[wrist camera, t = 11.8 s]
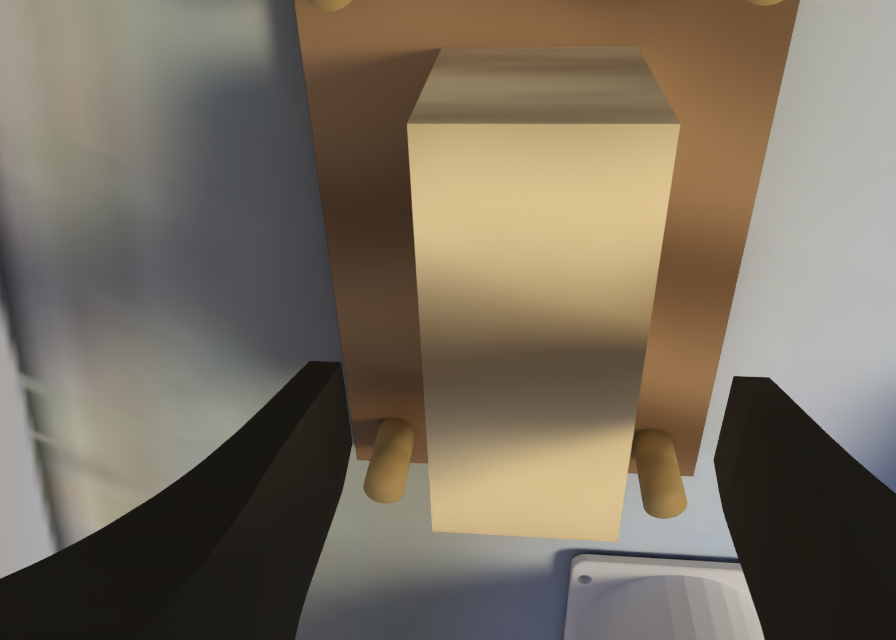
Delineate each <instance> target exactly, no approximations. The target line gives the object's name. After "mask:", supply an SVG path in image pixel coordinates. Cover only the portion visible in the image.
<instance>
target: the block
mask: <svg viewBox="0 0 896 640" xmlns="http://www.w3.org/2000/svg"><path fill="white" fill-rule="evenodd" d="M679 130H680V122H679V120H678V119H677V117H676V115H675V113H674V111H673V110H672V108H671V106H670V104H669V102H668V101H667V99H666V97H665V95H664V93H663V92H662V90H661V88H660V86H659V84H658V83H657V81H656V79H655V77H654V75H653V74H652V72H651V70H650V68H649V66H648V65H647V63H646V61H645V59H644V58H643V56H642V54H641V52H640V50H639V49H638V47H637V46H588V47H487V48H441V50H440V53H439V55H438V57H437V59H436V61H435V64H434V66H433V68H432V70H431V72H430V75H429V77H428V79H427V81H426V83H425V85H424V88H423V90H422V92H421V94H420V96H419V99H418V101H417V103H416V105H415V107H414V109H413V112H412V114H411V116H410V118H409V120H408V123H407V133H408V148H409V164H410V180H411V196H412V212H413V228H414V244H415V260H416V276H417V292H418V307H419V323H420V339H421V355H422V371H423V387H424V403H425V419H426V435H427V451H428V467H429V482H430V498H431V514H432V530H433V531H438V532H455V533H473V534H490V535H507V536H525V537H542V538H560V539H577V540H595V541H612V542H617V540H618V534H619V527H620V521H621V514H622V507H623V501H624V494H625V487H626V481H627V474H628V468H629V461H630V454H631V448H632V441H633V435H634V428H635V421H636V415H637V408H638V401H639V395H640V388H641V382H642V375H643V368H644V362H645V355H646V348H647V342H648V335H649V329H650V322H651V315H652V309H653V302H654V296H655V289H656V282H657V276H658V269H659V262H660V256H661V249H662V243H663V236H664V229H665V223H666V216H667V209H668V203H669V196H670V190H671V183H672V176H673V170H674V163H675V157H676V150H677V143H678V137H679Z"/></svg>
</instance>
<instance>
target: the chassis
mask: <svg viewBox="0 0 896 640" xmlns="http://www.w3.org/2000/svg"><path fill="white" fill-rule="evenodd" d="M799 1H800V0H294V3H295V11H296V18H297V25H298V32H299V40H300V47H301V54H302V62H303V69H304V76H305V84H306V91H307V98H308V105H309V113H310V120H311V127H312V135H313V142H314V149H315V157H316V164H317V171H318V178H319V186H320V193H321V200H322V208H323V215H324V222H325V229H326V237H327V244H328V251H329V259H330V266H331V273H332V281H333V288H334V295H335V302H336V310H337V317H338V324H339V332H340V339H341V346H342V354H343V361H344V368H345V375H346V383H347V390H348V397H349V405H350V412H351V419H352V427H353V434H354V441H355V448H356V456H357V460H368V461H370V463H369V467H368V470H367V474H366V478H365V482H364V486H363V487H364V491H365V493H366V495H367V496H368V497H369V498H371V499H372V500H374V501H376V502H379V503H394V502H396V501H398V500H400V499H401V498H402V496H403V493H404V488H405V483H406V478H407V473H408V468H409V463H428V451H427V435H426V419H425V403H424V387H423V371H422V355H421V339H420V323H419V307H418V292H417V276H416V260H415V244H414V228H413V212H412V196H411V180H410V164H409V148H408V133H407V123H408V120H409V118H410V116H411V114H412V112H413V109H414V107H415V105H416V103H417V101H418V99H419V96H420V94H421V92H422V90H423V88H424V85H425V83H426V81H427V79H428V77H429V75H430V72H431V70H432V68H433V66H434V64H435V61H436V59H437V57H438V55H439V53H440V50H441V48H487V47H588V46H637V47H638V49H639V50H640V52H641V54H642V56H643V58H644V59H645V61H646V63H647V65H648V66H649V68H650V70H651V72H652V74H653V75H654V77H655V79H656V81H657V83H658V84H659V86H660V88H661V90H662V92H663V93H664V95H665V97H666V99H667V101H668V102H669V104H670V106H671V108H672V110H673V111H674V113H675V115H676V117H677V119H678V120H679V122H680V130H679V137H678V143H677V150H676V157H675V163H674V170H673V176H672V183H671V190H670V196H669V203H668V209H667V216H666V223H665V229H664V236H663V243H662V249H661V256H660V262H659V269H658V276H657V282H656V289H655V296H654V302H653V309H652V315H651V322H650V329H649V335H648V342H647V348H646V355H645V362H644V368H643V375H642V382H641V388H640V395H639V401H638V408H637V415H636V421H635V428H634V435H633V441H632V448H631V454H630V461H629V468H628V473H636V474H638V478H639V483H640V489H641V495H642V501H643V507H644V509H645V511H646V512H647V513H648V514H649V515H651V516H653V517H656V518H662V519H666V518H672V517H675V516H678V515H679V514H681V513H682V512H683V511H684V510H685V508H686V506H687V500H686V495H685V491H684V487H683V483H682V479H681V476H693V475H694V470H695V466H696V461H697V457H698V453H699V448H700V444H701V439H702V435H703V430H704V426H705V421H706V417H707V412H708V408H709V403H710V399H711V394H712V390H713V386H714V381H715V377H716V372H717V368H718V363H719V359H720V354H721V350H722V345H723V341H724V336H725V332H726V327H727V323H728V318H729V314H730V310H731V305H732V301H733V296H734V292H735V287H736V283H737V278H738V274H739V269H740V265H741V260H742V256H743V251H744V247H745V242H746V238H747V234H748V229H749V225H750V220H751V216H752V211H753V207H754V202H755V198H756V193H757V189H758V184H759V180H760V175H761V171H762V167H763V162H764V158H765V153H766V149H767V144H768V140H769V135H770V131H771V126H772V122H773V117H774V113H775V108H776V104H777V99H778V95H779V91H780V86H781V82H782V77H783V73H784V68H785V64H786V59H787V55H788V50H789V46H790V41H791V37H792V32H793V28H794V23H795V19H796V15H797V10H798V6H799Z"/></svg>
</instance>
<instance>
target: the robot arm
mask: <svg viewBox="0 0 896 640" xmlns="http://www.w3.org/2000/svg"><path fill="white" fill-rule="evenodd" d="M351 447H352V437H351V430H350V423H349V415H348V408H347V401H346V394H345V386H344V379H343V372H342V365H341V362H321V361H310V362H309V363H307V364H306V365H305V366H304V367H303V368H302V369H301V370H300V371H299V372H298V373H297V374H296V375H295V376H294V377H293V378H292V379H291V380H290V381H289V382H288V383H287V384H286V385H285V386H284V387H283V388H282V389H281V390H280V391H279V392H278V393H277V394H276V395H275V396H274V397H273V398H272V399H271V400H270V401H269V402H268V403H267V404H266V405H265V406H264V407H263V408H262V409H261V410H260V411H258V412H257V413H256V414H255V415H254V416H253V417H252V418H251V419H250V420H249V421H248V422H247V423H246V424H245V425H244V426H243V427H242V428H241V429H239V430H238V431H237V432H236V433H235V434H234V435H233V436H232V437H230V438H229V439H228V440H227V441H226V442H225V443H223V444H222V445H221V446H220V447H219V448H218V449H216V450H215V451H214V452H213V453H212V454H211V455H209V456H208V457H207V458H206V459H205V460H203V461H202V462H201V463H200V464H198V465H197V466H196V467H194V468H193V469H192V470H191V471H189V472H188V473H187V474H185V475H184V476H182V477H181V478H180V479H178V480H177V481H175V482H174V483H173V484H171V485H170V486H168V487H167V488H166V489H164V490H163V491H161V492H160V493H158V494H157V495H155V496H154V497H153V498H151V499H149V500H148V501H146V502H144V503H143V504H141V505H140V506H138V507H136V508H135V509H133V510H132V511H130V512H128V513H127V514H125V515H124V516H122V517H120V518H119V519H117V520H115V521H114V522H112V523H111V524H109V525H107V526H106V527H104V528H102V529H100V530H98V531H97V532H95V533H93V534H91V535H89V536H88V537H86V538H84V539H82V540H80V541H78V542H77V543H75V544H73V545H71V546H69V547H67V548H65V549H63V550H61V551H59V552H57V553H55V554H53V555H51V556H49V557H47V558H45V559H43V560H41V561H39V562H37V563H35V564H32V565H30V566H28V567H26V568H24V569H21V570H19V571H17V572H15V573H12V574H10V575H8V576H5V577H4V578H1V579H0V640H295V636H296V632H297V628H298V623H299V619H300V615H301V612H302V608H303V605H304V602H305V598H306V595H307V592H308V589H309V586H310V583H311V580H312V577H313V574H314V572H315V569H316V566H317V563H318V560H319V557H320V554H321V552H322V549H323V546H324V543H325V540H326V537H327V534H328V532H329V529H330V526H331V523H332V520H333V517H334V514H335V511H336V508H337V505H338V502H339V499H340V496H341V493H342V490H343V486H344V481H345V477H346V472H347V467H348V462H349V457H350V452H351ZM714 465H715V471H716V477H717V482H718V488H719V493H720V498H721V503H722V508H723V512H724V515H725V519H726V522H727V525H728V528H729V531H730V534H731V537H732V540H733V543H734V546H735V550H736V553H737V556H738V559H739V562H740V563H725V562H709V561H692V560H675V559H658V558H642V557H625V556H608V555H592V554H581V555H578V556H576V557H575V558H573V560H572V562H571V571H570V581H569V590H568V600H567V610H566V620H565V630H564V640H896V494H895V493H894V492H893V491H892V490H891V489H889V488H888V487H887V486H886V485H885V484H883V483H882V482H881V481H880V480H879V479H877V478H876V477H875V476H874V475H873V474H871V473H870V472H869V471H868V470H867V469H866V468H864V467H863V466H862V465H861V464H860V463H859V462H858V461H856V460H855V459H854V458H853V457H852V456H851V455H850V454H849V453H848V452H846V451H845V450H844V449H843V448H842V447H841V446H840V445H839V444H838V443H837V442H836V441H835V440H833V439H832V438H831V437H830V436H829V435H828V434H827V433H826V432H825V431H824V430H823V429H822V428H821V427H820V426H819V425H818V424H817V423H816V422H815V421H814V420H813V419H811V418H810V417H809V416H808V415H807V414H806V413H805V412H804V411H803V410H802V409H801V408H800V407H799V406H798V405H797V404H796V403H795V402H794V401H793V400H792V399H791V398H790V397H789V396H788V395H787V394H786V393H785V392H784V391H783V390H782V389H781V388H780V387H779V386H778V385H777V384H776V383H774V382H773V381H772V380H771V379H770V378H769V377H741V376H734V377H733V381H732V385H731V389H730V394H729V398H728V402H727V406H726V410H725V414H724V419H723V423H722V427H721V431H720V435H719V440H718V444H717V448H716V452H715V456H714Z"/></svg>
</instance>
